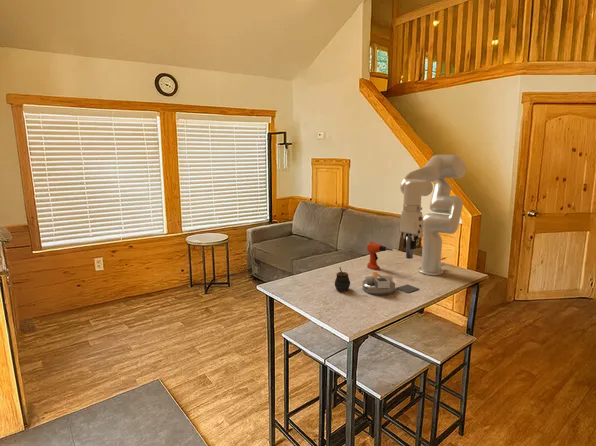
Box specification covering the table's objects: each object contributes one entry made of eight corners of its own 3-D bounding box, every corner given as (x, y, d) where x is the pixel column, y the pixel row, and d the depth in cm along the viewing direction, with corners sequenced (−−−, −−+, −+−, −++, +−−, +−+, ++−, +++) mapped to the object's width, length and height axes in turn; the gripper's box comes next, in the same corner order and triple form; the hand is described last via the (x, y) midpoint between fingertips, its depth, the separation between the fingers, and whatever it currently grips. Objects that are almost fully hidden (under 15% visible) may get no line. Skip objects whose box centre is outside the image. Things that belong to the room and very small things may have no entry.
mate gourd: (339, 293, 172) (339, 272, 170) (331, 288, 179) (331, 268, 177) (352, 291, 174) (352, 270, 172) (345, 285, 181) (345, 266, 179)
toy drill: (390, 273, 194) (388, 244, 192) (365, 268, 209) (363, 242, 208) (397, 271, 196) (395, 243, 195) (371, 266, 212) (370, 240, 211)
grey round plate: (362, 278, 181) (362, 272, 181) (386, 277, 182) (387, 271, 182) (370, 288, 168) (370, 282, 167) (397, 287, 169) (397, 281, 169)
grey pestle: (410, 256, 175) (410, 235, 173) (414, 257, 172) (414, 237, 170) (404, 257, 174) (404, 236, 172) (408, 259, 171) (408, 238, 169)
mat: (407, 285, 181) (407, 284, 181) (419, 289, 176) (419, 288, 176) (396, 288, 177) (396, 287, 177) (407, 293, 171) (407, 292, 171)
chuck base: (378, 281, 186) (378, 275, 186) (401, 290, 174) (402, 284, 173) (355, 288, 178) (355, 282, 178) (378, 298, 166) (379, 291, 165)
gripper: (432, 210, 164) (430, 250, 168) (403, 205, 177) (401, 243, 181) (421, 211, 160) (419, 253, 164) (392, 207, 173) (390, 245, 177)
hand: (409, 247), depth 172 cm, fingers closed on grey pestle, 3 cm apart
